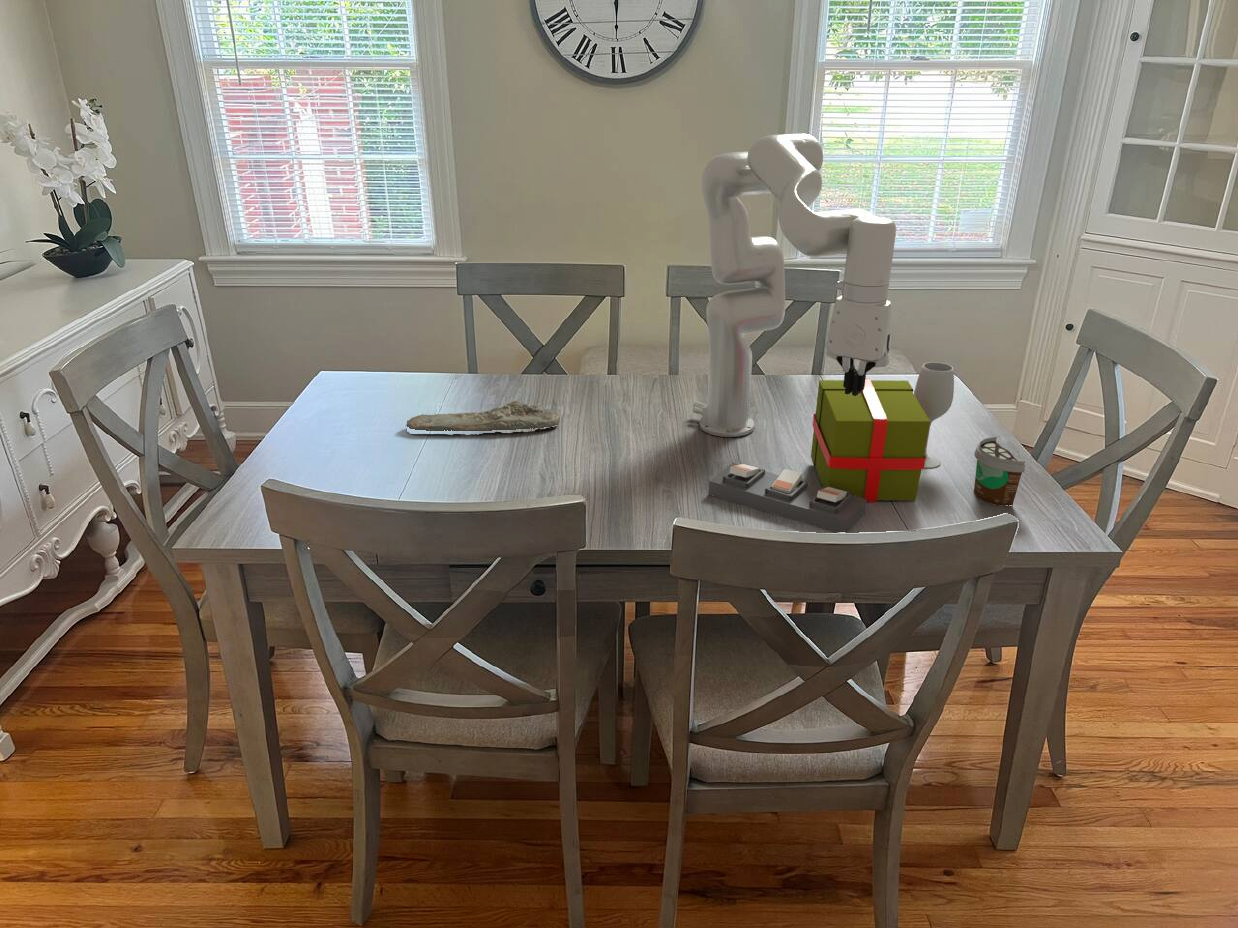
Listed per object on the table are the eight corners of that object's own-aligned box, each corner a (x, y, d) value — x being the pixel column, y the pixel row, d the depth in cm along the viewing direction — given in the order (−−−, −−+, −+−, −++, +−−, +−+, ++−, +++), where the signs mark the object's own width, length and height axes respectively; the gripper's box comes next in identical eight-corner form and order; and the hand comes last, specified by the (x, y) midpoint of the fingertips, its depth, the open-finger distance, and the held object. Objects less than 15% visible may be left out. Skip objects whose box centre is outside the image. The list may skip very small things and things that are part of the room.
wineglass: (922, 471, 182) (938, 375, 173) (896, 457, 188) (910, 364, 179) (949, 464, 185) (966, 369, 176) (922, 450, 191) (937, 358, 182)
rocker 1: (729, 472, 171) (730, 466, 171) (741, 469, 175) (743, 463, 175) (746, 477, 169) (747, 470, 169) (758, 474, 174) (759, 467, 173)
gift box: (911, 519, 171) (882, 456, 193) (950, 425, 161) (915, 369, 182) (808, 501, 170) (790, 439, 191) (841, 405, 159) (818, 351, 181)
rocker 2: (771, 490, 167) (771, 485, 166) (784, 473, 171) (784, 468, 170) (789, 495, 165) (789, 490, 164) (802, 478, 169) (801, 472, 168)
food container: (956, 482, 178) (965, 436, 173) (986, 481, 178) (995, 435, 174) (984, 511, 167) (994, 463, 162) (1016, 510, 167) (1026, 462, 163)
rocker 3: (816, 497, 162) (818, 490, 161) (827, 492, 166) (828, 486, 166) (835, 502, 160) (836, 495, 160) (845, 497, 164) (847, 490, 164)
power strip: (708, 494, 173) (709, 476, 171) (732, 475, 180) (733, 458, 179) (845, 534, 159) (847, 515, 157) (864, 512, 166) (867, 493, 164)
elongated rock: (410, 428, 207) (406, 448, 198) (407, 408, 205) (401, 427, 196) (559, 415, 209) (561, 434, 200) (557, 395, 207) (559, 413, 198)
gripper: (814, 290, 152) (805, 390, 160) (901, 303, 144) (887, 408, 152) (831, 281, 157) (821, 379, 165) (916, 294, 150) (901, 395, 158)
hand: (853, 392), depth 159 cm, fingers closed
